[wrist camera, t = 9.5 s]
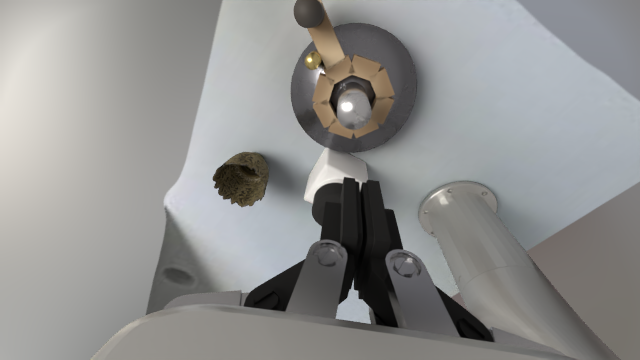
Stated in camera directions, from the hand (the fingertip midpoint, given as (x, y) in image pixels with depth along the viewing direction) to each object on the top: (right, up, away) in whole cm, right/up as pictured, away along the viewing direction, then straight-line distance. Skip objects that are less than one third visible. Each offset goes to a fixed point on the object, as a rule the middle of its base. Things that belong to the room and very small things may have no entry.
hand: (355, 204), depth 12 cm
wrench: (+1, +14, +18) cm, 23 cm away
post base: (+3, +14, +22) cm, 26 cm away
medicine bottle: (+1, +3, +29) cm, 29 cm away
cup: (-13, +5, +29) cm, 32 cm away
